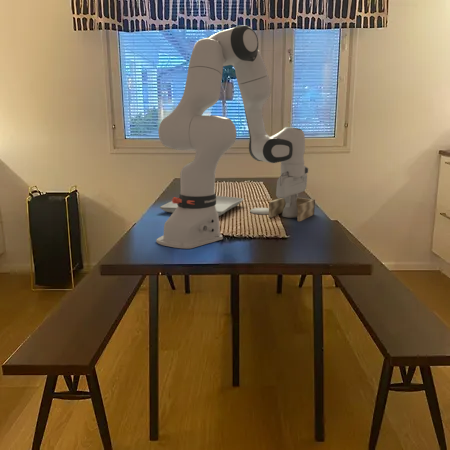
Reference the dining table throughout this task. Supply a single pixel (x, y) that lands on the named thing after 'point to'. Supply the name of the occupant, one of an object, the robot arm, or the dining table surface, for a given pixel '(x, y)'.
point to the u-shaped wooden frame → (303, 206)
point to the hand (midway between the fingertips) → (291, 205)
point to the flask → (291, 209)
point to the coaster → (260, 211)
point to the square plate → (221, 205)
